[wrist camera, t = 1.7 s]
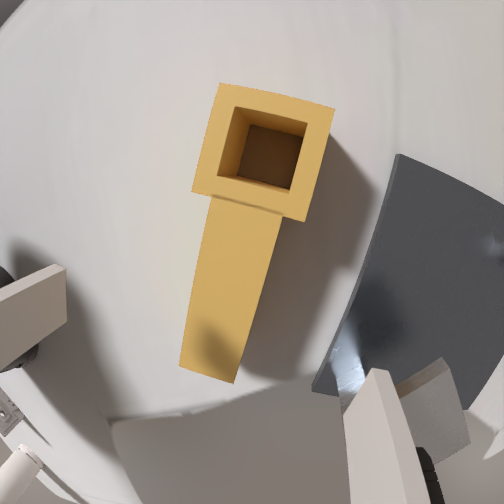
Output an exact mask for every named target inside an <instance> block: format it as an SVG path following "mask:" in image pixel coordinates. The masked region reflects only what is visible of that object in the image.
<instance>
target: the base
mask: <svg viewBox="0 0 504 504" xmlns="http://www.w3.org/2000/svg"><path fill="white" fill-rule="evenodd" d="M503 355H504V205H503V204H501V203H500V202H498V201H496V200H494V199H493V198H491V197H489V196H487V195H486V194H484V193H482V192H480V191H478V190H476V189H475V188H473V187H471V186H469V185H467V184H465V183H463V182H461V181H459V180H457V179H455V178H453V177H451V176H449V175H447V174H445V173H443V172H441V171H439V170H437V169H434V168H432V167H430V166H428V165H426V164H423V163H421V162H419V161H416V160H414V159H412V158H409V157H407V156H405V155H402V154H396V156H395V160H394V164H393V168H392V172H391V176H390V179H389V183H388V187H387V190H386V194H385V197H384V201H383V204H382V208H381V211H380V214H379V218H378V221H377V224H376V227H375V230H374V233H373V236H372V239H371V242H370V245H369V248H368V251H367V254H366V257H365V260H364V263H363V266H362V268H361V271H360V274H359V276H358V279H357V282H356V284H355V287H354V290H353V292H352V295H351V297H350V300H349V302H348V305H347V307H346V310H345V312H344V315H343V317H342V320H341V322H340V324H339V327H338V329H337V331H336V334H335V336H334V338H333V340H332V343H331V345H330V347H329V349H328V352H327V354H326V356H325V358H324V360H323V362H322V364H321V367H320V369H319V371H318V373H317V375H316V377H315V379H314V381H313V383H312V392H317V393H322V394H327V395H333V396H338V397H339V392H338V386H337V380H336V378H338V377H340V376H342V375H343V374H345V373H347V372H349V371H351V370H353V369H355V368H357V367H359V366H360V365H362V367H363V368H364V370H365V371H366V373H367V375H368V373H369V372H370V370H371V368H377V369H382V370H387V371H389V374H390V376H391V379H392V382H393V384H394V386H395V385H397V384H399V383H400V382H402V381H404V380H406V379H407V378H409V377H411V376H412V375H414V374H415V373H417V372H419V371H420V370H422V369H423V368H425V367H427V366H428V365H430V364H431V363H433V362H434V361H436V360H437V359H439V358H440V357H442V358H443V359H444V360H445V362H446V363H447V365H448V366H449V368H450V371H451V374H452V377H453V380H454V383H455V386H456V389H457V393H458V396H459V399H460V403H461V406H462V410H468V409H469V407H470V406H471V404H472V403H473V402H474V400H475V399H476V397H477V396H478V395H479V393H480V392H481V390H482V389H483V387H484V386H485V384H486V383H487V381H488V380H489V378H490V376H491V375H492V373H493V372H494V370H495V368H496V367H497V365H498V363H499V362H500V360H501V358H502V356H503Z"/></svg>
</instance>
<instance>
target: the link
mask: <svg viewBox="0 0 504 504" xmlns="http://www.w3.org/2000/svg"><path fill="white" fill-rule="evenodd" d="M334 111H335V109H333V108H330V107H327V106H323V105H320V104H316V103H313V102H309V101H305V100H301V99H298V98H294V97H289V96H285V95H281V94H277V93H272V92H268V91H263V90H258V89H253V88H247V87H242V86H236V85H230V84H224V83H219V87H218V90H217V93H216V97H215V100H214V104H213V107H212V111H211V115H210V118H209V122H208V126H207V129H206V133H205V137H204V141H203V145H202V149H201V153H200V157H199V161H198V165H197V170H196V174H195V178H194V183H193V187H192V191H191V192H194V193H198V194H202V195H206V196H210V197H211V202H210V206H209V210H208V215H207V219H206V224H205V228H204V233H203V237H202V242H201V247H200V252H199V257H198V261H197V266H196V271H195V276H194V282H193V287H192V292H191V297H190V303H189V308H188V314H187V319H186V325H185V331H184V337H183V343H182V349H181V355H180V362H179V366H180V367H183V368H186V369H188V370H191V371H194V372H197V373H200V374H203V375H206V376H209V377H213V378H216V379H219V380H222V381H225V382H229V383H232V384H234V381H235V377H236V374H237V371H238V368H239V364H240V361H241V358H242V355H243V351H244V348H245V345H246V341H247V338H248V335H249V331H250V328H251V325H252V321H253V318H254V315H255V311H256V308H257V305H258V301H259V298H260V294H261V291H262V288H263V284H264V281H265V277H266V274H267V270H268V267H269V263H270V260H271V256H272V253H273V249H274V246H275V242H276V239H277V235H278V232H279V228H280V225H281V221H282V217H283V216H284V217H288V218H291V219H295V220H298V221H302V222H305V219H306V215H307V212H308V209H309V205H310V202H311V198H312V194H313V191H314V187H315V184H316V180H317V176H318V173H319V169H320V165H321V162H322V158H323V154H324V150H325V147H326V143H327V139H328V135H329V131H330V127H331V123H332V119H333V115H334ZM250 124H252V125H256V126H261V127H265V128H269V129H273V130H277V131H281V132H285V133H289V134H293V135H297V136H300V137H304V139H303V143H302V146H301V150H300V154H299V158H298V161H297V165H296V169H295V173H294V176H293V180H292V184H291V187H290V189H286V188H282V187H279V186H275V185H271V184H268V183H264V182H260V181H256V180H252V179H249V178H245V177H241V176H237V174H238V170H239V166H240V162H241V158H242V154H243V150H244V147H245V143H246V139H247V135H248V132H249V128H250Z"/></svg>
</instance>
